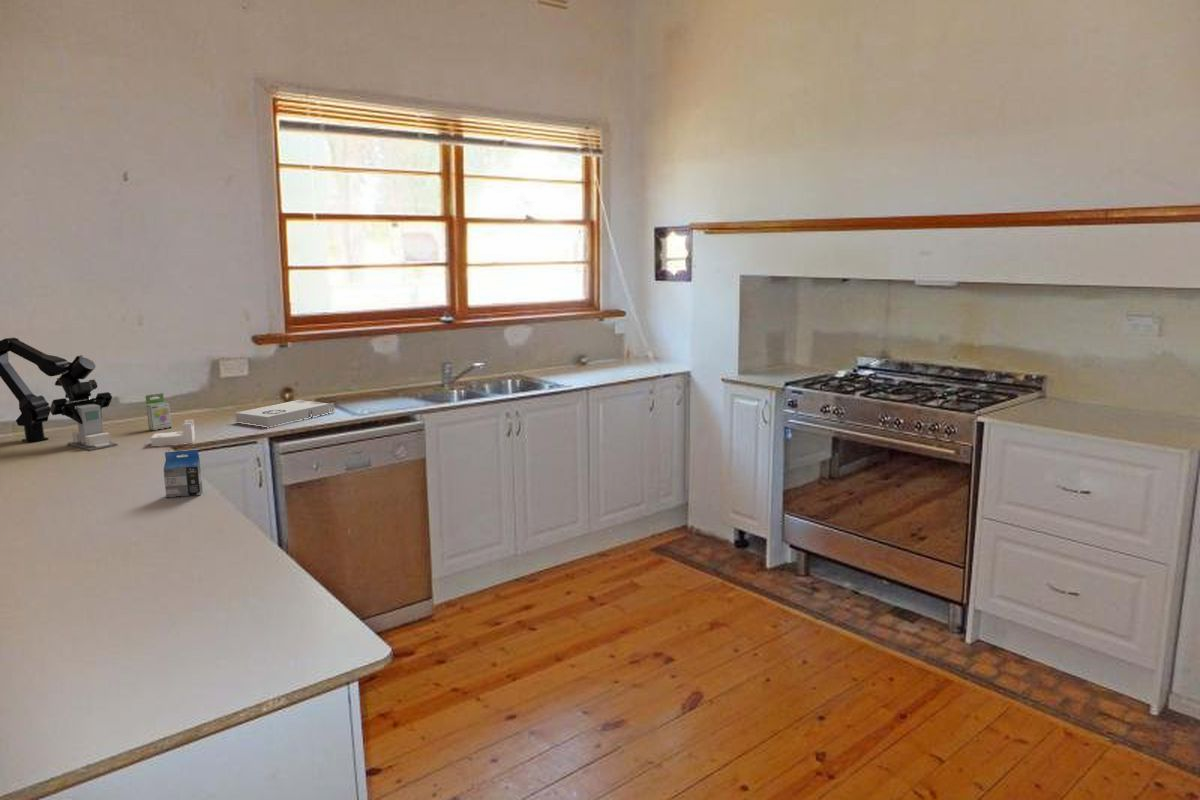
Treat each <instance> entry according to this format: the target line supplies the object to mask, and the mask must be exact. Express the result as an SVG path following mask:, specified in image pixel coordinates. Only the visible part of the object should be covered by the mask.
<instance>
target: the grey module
mask: <svg viewBox="0 0 1200 800" xmlns="http://www.w3.org/2000/svg"><path fill="white" fill-rule="evenodd" d="M75 409H76V411H77V412H78V414H79V416H80V417H81V419H82V422H83V423H82V424H80V423H78V422H77V428H78V432H79V438H80V441H83V442H86V441H85V436H88V435H94V434H100V433H104V427H103V419H102V418H103V417H102V418H101V413H102V409H100V405H95V404H92V405H85V406H78V407H75Z"/></svg>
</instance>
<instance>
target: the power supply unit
mask: <svg viewBox="0 0 1200 800" xmlns="http://www.w3.org/2000/svg"><path fill="white" fill-rule="evenodd" d="M284 411H285V412H284ZM333 411H334V412H335V403H334V402H331V403H326V402H318V401H310V400H309V401H308V400H304V399H302V398H301V399H297V400H293V401H291V400H290V401H287V402H282V403H277V404H272V405H266V406H261V407H258V408H257V407H256V408H252V409H247V410H241V411H237V412H235V420H236V423H237V422H243V423H250V424H256V425H263V426H267V427H270V426H274V425H278V424H282V423H286V422H290V421H295V420H300V419H304V418H309V417H311V414H312V417H313V416H317V415H322V414H325V413H329V412H333Z"/></svg>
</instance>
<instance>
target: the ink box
mask: <svg viewBox="0 0 1200 800" xmlns="http://www.w3.org/2000/svg"><path fill="white" fill-rule="evenodd" d="M154 397H158V398H156V399H155V398H154ZM152 398H154V399H152ZM145 405H146V413H147V423H148V424H147V425H148V429H150V431H152V430H156V431H159V430H158V429H162V430H165V429H164V428H167V429H170V428H169V427H172V426H173V425H172V418H171V417H172V416H171V410H170V409H171V407H170V402H166V401H165V400H164V392H162V393H155V394H154V393H153V394H147V395H145ZM172 428H173V427H172Z"/></svg>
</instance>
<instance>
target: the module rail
mask: <svg viewBox="0 0 1200 800" xmlns="http://www.w3.org/2000/svg"><path fill="white" fill-rule="evenodd" d="M71 434H72V440H73V441H71V442H67V445H68V444H70V445H69V446H72V445H73V446H72V447H75V446H76V448H79V447H80V448H79V449H82V448H83V449H82V450H87V451H89V450H90V451H89V452H91V450H92V451H96V449H97V450H101V448H102V449H106V448H105V447H108V448H111V447H110V446H113V447H116V446H115V445H119V444H118V443H115V442H112V436H111V433H109V432H107V431H106V432H103V433H100V434H94V435H88V436H85V441H86V442H83V441H80V438H79V431H75V432H72V433H71Z"/></svg>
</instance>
